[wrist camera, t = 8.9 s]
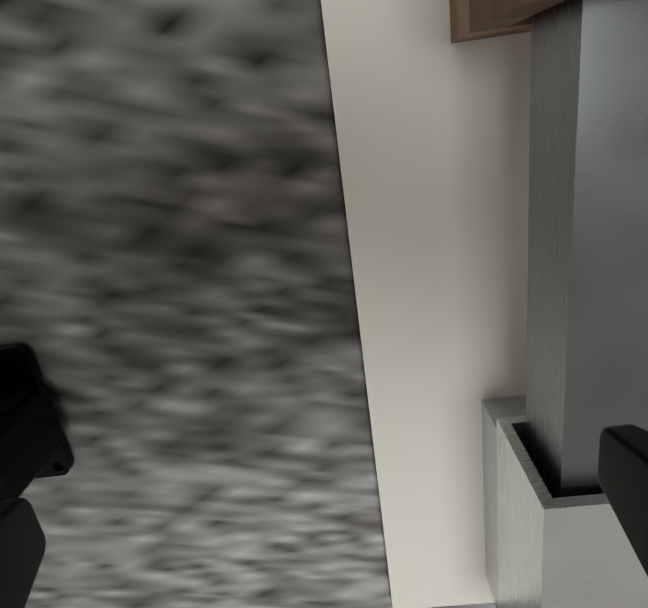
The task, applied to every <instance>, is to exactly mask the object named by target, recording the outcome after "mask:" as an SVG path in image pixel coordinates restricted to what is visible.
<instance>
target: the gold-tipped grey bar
mask: <svg viewBox="0 0 648 608" xmlns="http://www.w3.org/2000/svg"><path fill="white" fill-rule="evenodd" d="M623 424H632V425H635V426H638V427H640V428H642V429H645V430H647V431H648V0H565V1H563V2H561V3H558V4H556V5H554V6H552V7H550V8H548V9H546V10H543V11H541V12H539V13H537V14H535V15H533V16H531V67H530V141H529V215H528V290H527V364H526V438H525V450H526V452H527V453H528V455H529V457H530V459H531V461H532V462H533V464H534V466H535V468H536V470H537V471H538V473H539V475H540V477H541V478H542V480H543V482H544V484H545V486H546V487H547V489H548V491H549V493H550V495H551V496H552V498H560V497H571V496H582V495H594V494H604V492H603V490H602V487H601V485H600V482H599V479H598V473H597V468H598V452H599V437H600V432H601V430H602V429H603V428H605V427H607V426H615V425H623Z"/></svg>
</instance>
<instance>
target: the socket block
mask: <svg viewBox="0 0 648 608" xmlns="http://www.w3.org/2000/svg"><path fill="white" fill-rule="evenodd" d="M563 1H565V0H449V5H450V31H451V44H452V43H458V42H465V41H472V40H478V39H485V38H492V37H498V36H505V35H512V34H518V33H525V32H531V16H533V15H535V14H537V13H539V12H541V11H543V10H546V9H548V8H550V7H552V6H554V5H556V4H558V3H561V2H563Z"/></svg>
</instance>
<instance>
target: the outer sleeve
mask: <svg viewBox="0 0 648 608" xmlns="http://www.w3.org/2000/svg"><path fill="white" fill-rule="evenodd" d="M481 402H482V444H483V486H484V528H485V570H486V577H487V580H488V583H489V586H490V589H491V592H492V595H493V598H494V601H495V605H496V608H648V577H647V575H646V573H645V571H644V569H643V567H642V565H641V564H640V562H639V560H638V558H637V556H636V554H635V552H634V550H633V548H632V546H631V544H630V542H629V540H628V538H627V536H626V534H625V532H624V530H623V529H622V527H621V525H620V523H619V521H618V519H617V517H616V515H615V513H614V511H613V509H612V507H611V505H610V503H609V501H608V499H607V497H606V495H605V494H594V495H582V496H571V497H560V498H552V496H551V495H550V493H549V491H548V489H547V487H546V486H545V484H544V482H543V480H542V478H541V477H540V475H539V473H538V471H537V470H536V468H535V466H534V464H533V462H532V461H531V459H530V457H529V455H528V453H527V452H526V450H525V438H526V395H518V396H508V397H499V398H489V399H481Z"/></svg>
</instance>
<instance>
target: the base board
mask: <svg viewBox="0 0 648 608" xmlns="http://www.w3.org/2000/svg"><path fill="white" fill-rule="evenodd" d="M321 6H322V15H323V23H324V32H325V40H326V49H327V57H328V66H329V74H330V82H331V91H332V99H333V108H334V116H335V125H336V133H337V141H338V150H339V158H340V167H341V175H342V184H343V192H344V200H345V209H346V217H347V226H348V234H349V243H350V251H351V259H352V268H353V276H354V285H355V293H356V302H357V310H358V319H359V327H360V335H361V344H362V352H363V361H364V369H365V378H366V386H367V394H368V403H369V411H370V420H371V428H372V437H373V445H374V453H375V462H376V470H377V479H378V487H379V496H380V504H381V513H382V521H383V529H384V538H385V546H386V555H387V563H388V572H389V580H390V588H391V597H392V605H393V608H427V607H440V606H453V605H466V604H479V603H492V602H495V601H494V598H493V595H492V592H491V589H490V586H489V583H488V580H487V577H486V570H485V528H484V486H483V444H482V402H481V399H489V398H499V397H508V396H518V395H526V364H527V290H528V215H529V141H530V67H531V32H525V33H518V34H512V35H505V36H498V37H492V38H485V39H478V40H472V41H465V42H458V43H452V44H451V31H450V5H449V0H321Z"/></svg>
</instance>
